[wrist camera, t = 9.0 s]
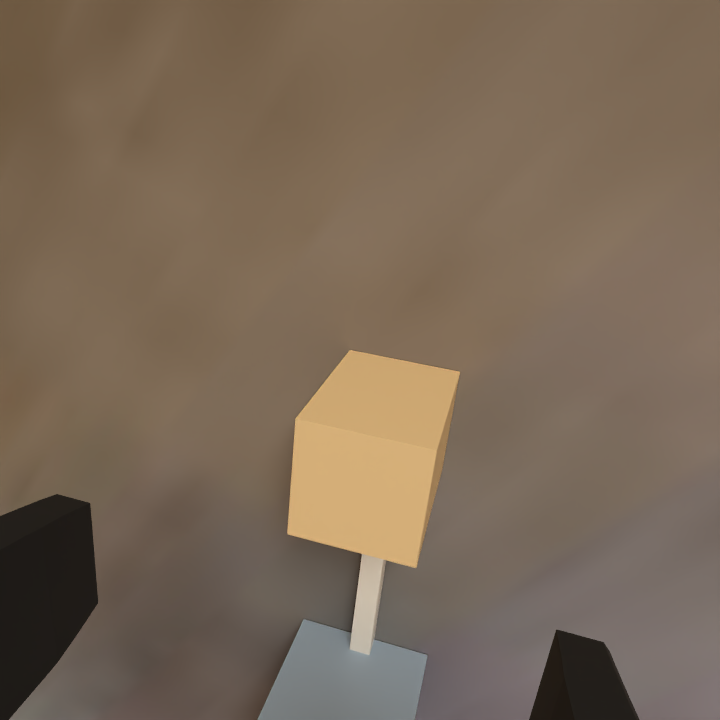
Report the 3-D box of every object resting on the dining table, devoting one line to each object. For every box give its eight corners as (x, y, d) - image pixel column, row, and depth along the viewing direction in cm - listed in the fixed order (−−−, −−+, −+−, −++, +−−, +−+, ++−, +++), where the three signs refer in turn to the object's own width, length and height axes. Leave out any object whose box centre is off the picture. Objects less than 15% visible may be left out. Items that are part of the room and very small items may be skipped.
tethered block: (483, 376, 17) (462, 482, 12) (409, 743, 23) (375, 915, 18) (328, 345, 18) (249, 432, 13) (295, 706, 24) (233, 861, 19)
